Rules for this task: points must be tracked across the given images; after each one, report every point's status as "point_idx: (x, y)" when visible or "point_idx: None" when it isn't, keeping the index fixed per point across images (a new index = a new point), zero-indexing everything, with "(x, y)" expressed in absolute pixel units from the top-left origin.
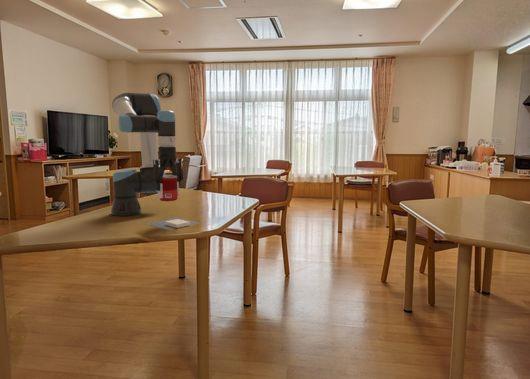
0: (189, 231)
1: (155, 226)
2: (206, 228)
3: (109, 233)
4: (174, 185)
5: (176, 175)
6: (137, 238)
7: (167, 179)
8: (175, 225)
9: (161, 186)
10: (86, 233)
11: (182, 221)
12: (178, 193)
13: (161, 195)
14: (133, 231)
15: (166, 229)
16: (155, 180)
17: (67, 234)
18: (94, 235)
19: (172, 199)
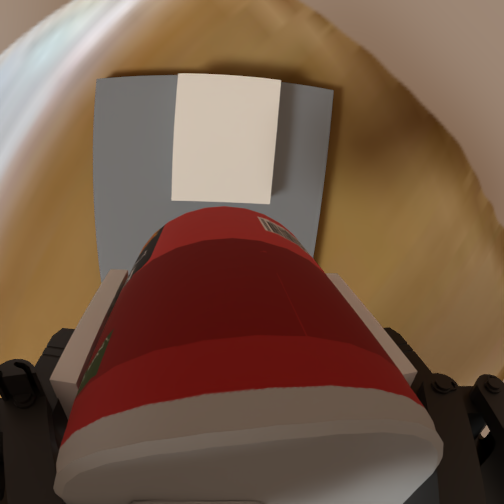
0: (238, 28)
1: (317, 212)
2: (135, 13)
3: (436, 291)
4: (220, 270)
5: (54, 493)
6: (446, 144)
7: (404, 381)
8: (277, 95)
9: (389, 348)
10: (451, 337)
11: (200, 116)
12: (109, 280)
13: (346, 285)
14: (387, 253)
15: (329, 111)
16: (501, 392)
17: (466, 355)
18: (463, 300)
19: (243, 208)
